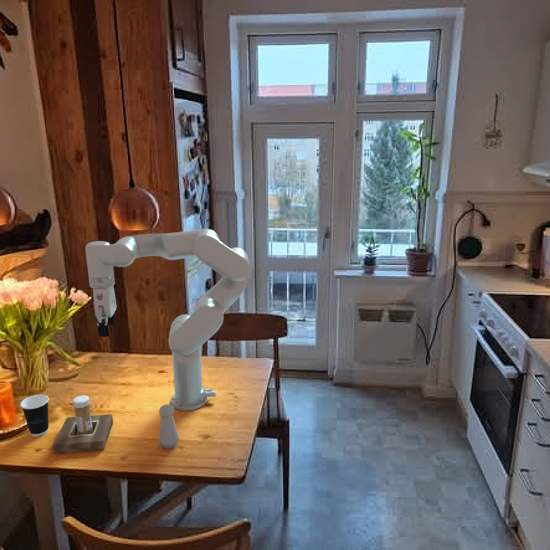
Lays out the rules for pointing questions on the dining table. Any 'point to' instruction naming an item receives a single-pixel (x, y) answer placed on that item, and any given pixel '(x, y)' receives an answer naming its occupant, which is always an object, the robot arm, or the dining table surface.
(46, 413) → the dixie cup
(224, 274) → the robot arm
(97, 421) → the socket block
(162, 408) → the salt shaker
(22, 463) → the dining table surface
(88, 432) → the sprinkles bottle
